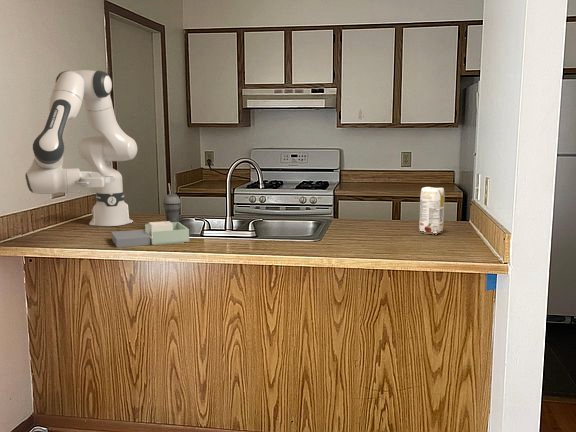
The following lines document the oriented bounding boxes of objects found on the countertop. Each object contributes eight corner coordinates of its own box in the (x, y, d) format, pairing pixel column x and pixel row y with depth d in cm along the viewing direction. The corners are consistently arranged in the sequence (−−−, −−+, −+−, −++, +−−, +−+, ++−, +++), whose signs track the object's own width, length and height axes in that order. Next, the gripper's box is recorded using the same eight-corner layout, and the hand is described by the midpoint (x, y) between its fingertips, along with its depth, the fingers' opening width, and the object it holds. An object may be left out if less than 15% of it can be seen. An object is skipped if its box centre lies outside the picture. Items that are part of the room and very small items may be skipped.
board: (111, 239, 229) (111, 231, 229) (143, 237, 234) (142, 229, 233) (117, 247, 215) (116, 239, 214) (150, 244, 219) (149, 236, 219)
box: (143, 236, 235) (143, 224, 234) (178, 234, 240) (178, 221, 240) (152, 245, 219) (151, 231, 218) (189, 242, 224) (188, 229, 223)
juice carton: (437, 236, 236) (439, 189, 233) (417, 233, 241) (418, 187, 238) (444, 233, 242) (446, 187, 239) (424, 231, 247) (426, 186, 244)
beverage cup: (177, 232, 244) (176, 184, 241) (161, 231, 246) (159, 183, 242) (184, 229, 251) (183, 182, 248) (168, 228, 253) (166, 182, 249)
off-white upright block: (148, 222, 229) (169, 221, 232) (149, 237, 230) (169, 236, 233) (151, 224, 223) (172, 223, 226) (152, 240, 224) (172, 238, 227)
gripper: (76, 174, 203) (117, 173, 209) (72, 169, 222) (110, 168, 227) (77, 192, 204) (118, 190, 210) (73, 186, 223) (111, 184, 228)
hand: (114, 178), depth 219 cm, fingers closed
